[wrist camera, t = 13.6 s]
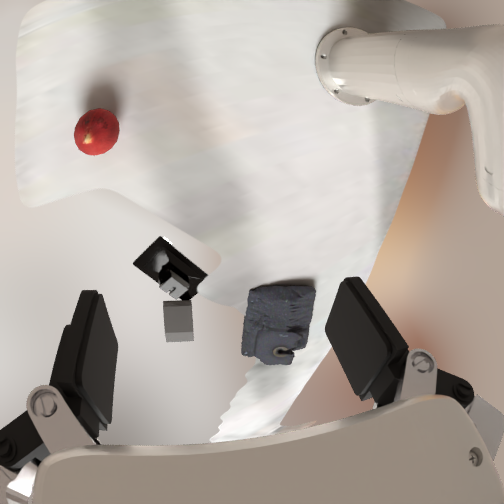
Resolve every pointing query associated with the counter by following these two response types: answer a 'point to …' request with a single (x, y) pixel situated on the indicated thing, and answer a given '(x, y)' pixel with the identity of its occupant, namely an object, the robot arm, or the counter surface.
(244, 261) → the counter surface
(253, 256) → the counter surface
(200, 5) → the counter surface
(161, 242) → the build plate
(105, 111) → the red oval fruit
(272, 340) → the dark grey rough slab
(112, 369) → the robot arm
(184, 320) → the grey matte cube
